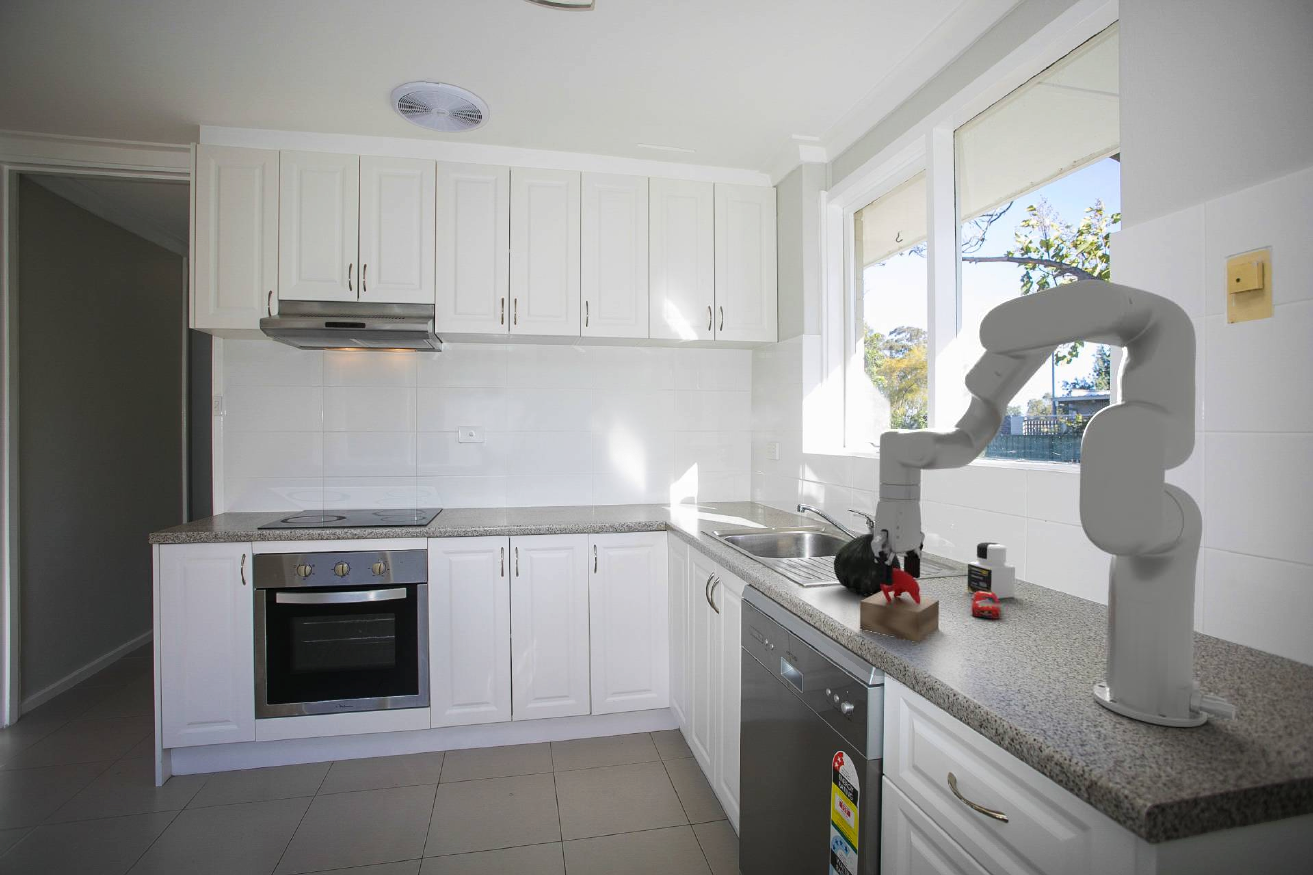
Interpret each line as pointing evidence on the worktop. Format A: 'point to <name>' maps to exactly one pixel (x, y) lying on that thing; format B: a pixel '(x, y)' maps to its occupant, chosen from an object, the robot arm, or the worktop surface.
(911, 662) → the worktop surface
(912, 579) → the red rounded piece
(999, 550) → the medicine bottle
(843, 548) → the squash
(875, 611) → the walnut block
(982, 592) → the race car
